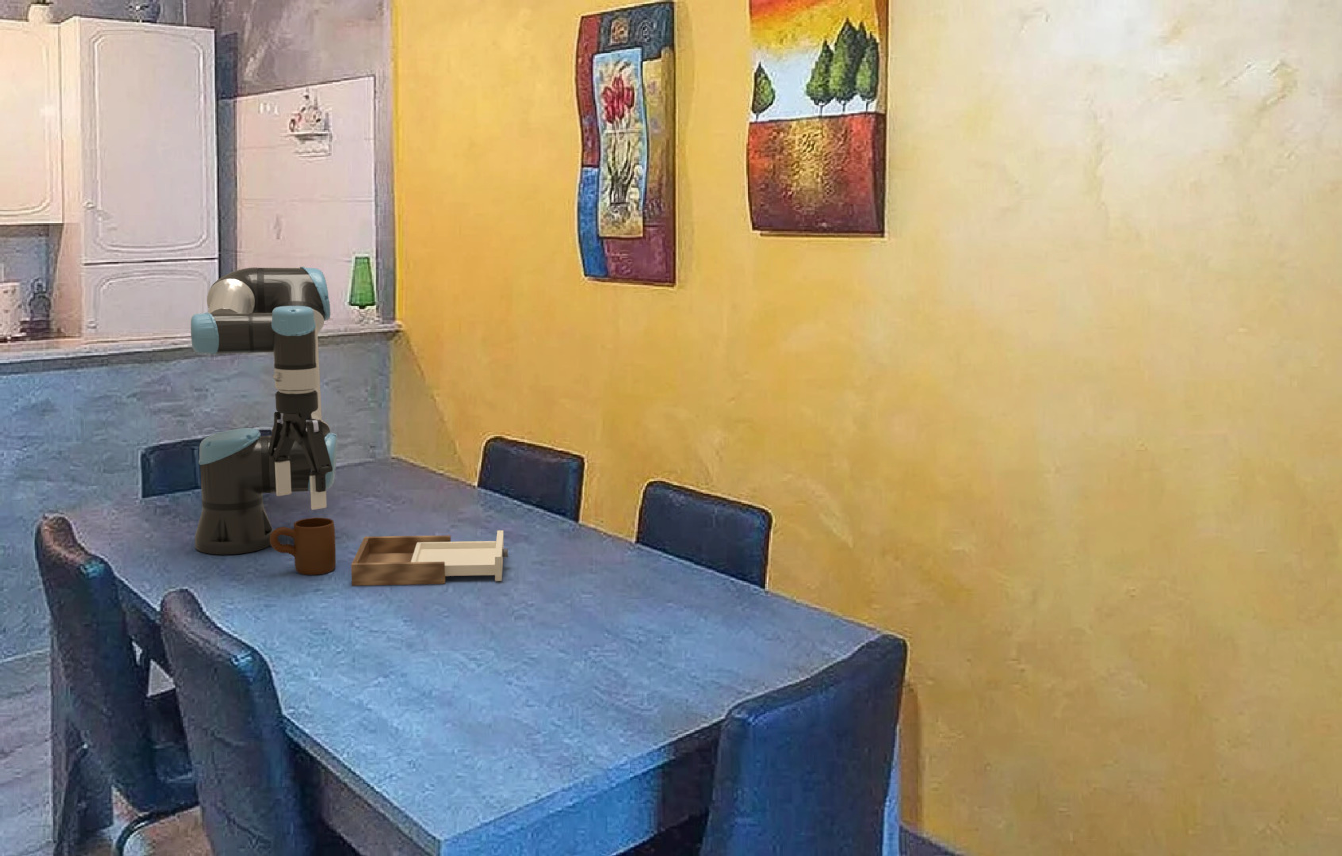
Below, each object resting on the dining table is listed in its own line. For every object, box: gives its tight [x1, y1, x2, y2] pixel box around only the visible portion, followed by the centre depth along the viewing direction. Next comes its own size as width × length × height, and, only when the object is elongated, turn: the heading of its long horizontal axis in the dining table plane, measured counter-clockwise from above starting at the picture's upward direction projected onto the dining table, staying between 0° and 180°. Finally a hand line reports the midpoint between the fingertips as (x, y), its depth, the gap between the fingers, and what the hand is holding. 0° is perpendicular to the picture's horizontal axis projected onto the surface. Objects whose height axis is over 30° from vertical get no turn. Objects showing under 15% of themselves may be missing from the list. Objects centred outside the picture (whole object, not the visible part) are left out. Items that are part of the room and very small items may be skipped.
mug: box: [270, 517, 337, 576], centre depth 229 cm, size 12×8×9 cm, turn 118°
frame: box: [350, 534, 452, 586], centre depth 231 cm, size 17×18×4 cm
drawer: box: [411, 530, 509, 582], centre depth 232 cm, size 18×18×5 cm
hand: (301, 501), depth 226 cm, fingers open, 13 cm apart
